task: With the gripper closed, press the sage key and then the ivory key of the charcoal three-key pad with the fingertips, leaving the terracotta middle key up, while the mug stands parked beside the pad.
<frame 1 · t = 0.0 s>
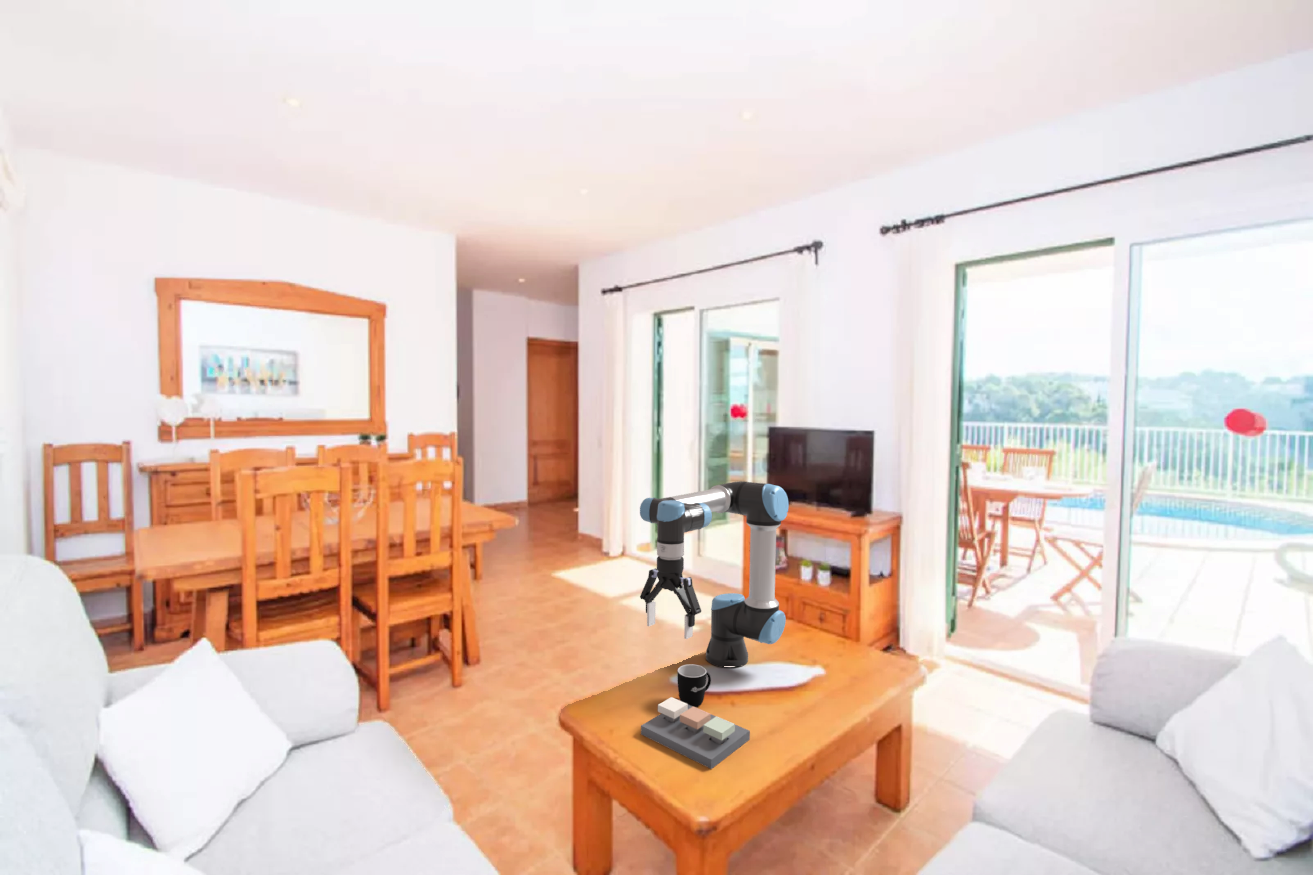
hand: (669, 631, 172), 28 cm above the table, fingers open, 13 cm apart
key ivory: (672, 712, 174), point 4 cm above the table, slide at 0.0 cm
key sage: (719, 732, 163), point 4 cm above the table, slide at 0.0 cm
keypad base: (694, 736, 169), on the table
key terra: (695, 722, 168), point 4 cm above the table, slide at 0.0 cm
mug: (695, 701, 189), on the table
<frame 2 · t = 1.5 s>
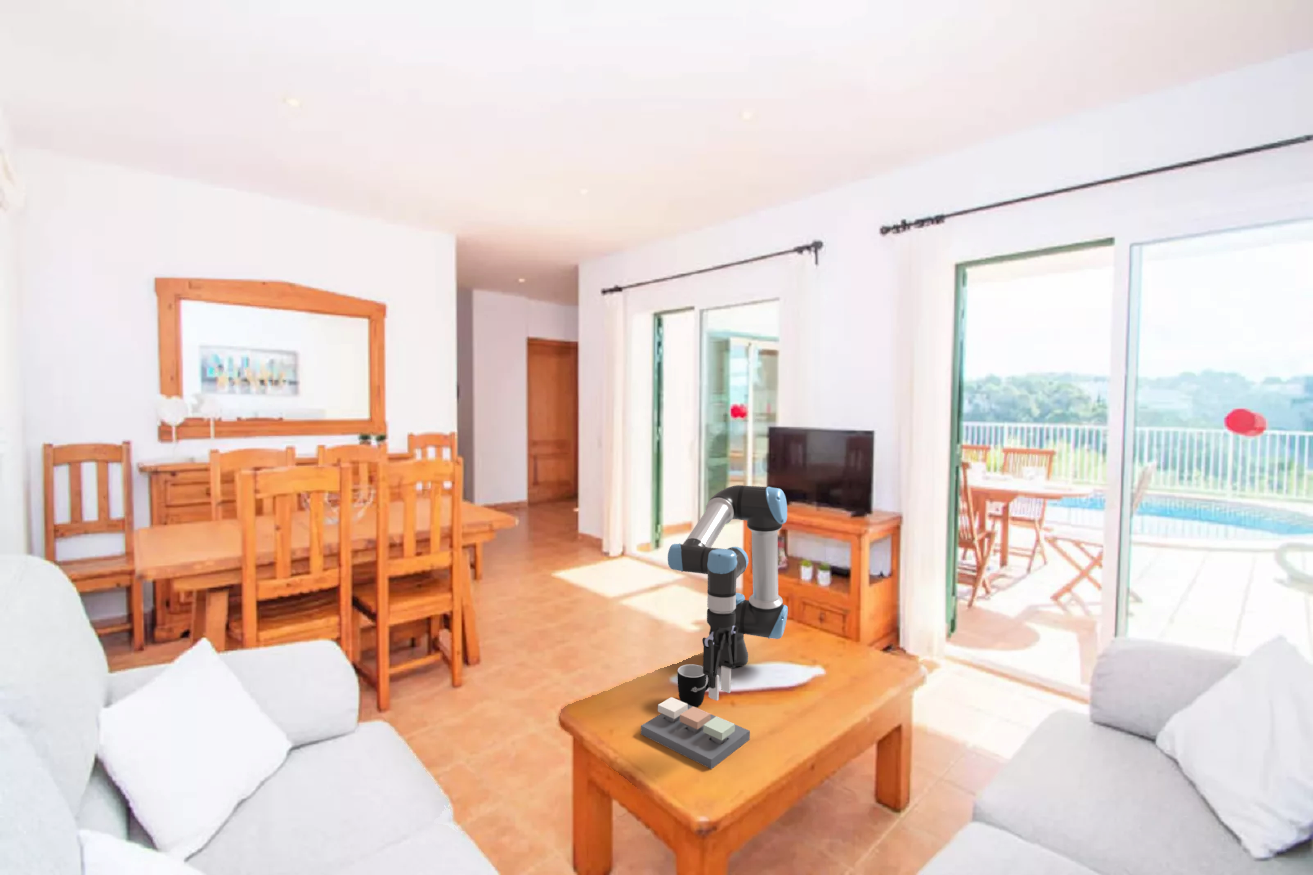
hand: (719, 694, 163), 15 cm above the table, fingers open, 5 cm apart
nothing on the table moved.
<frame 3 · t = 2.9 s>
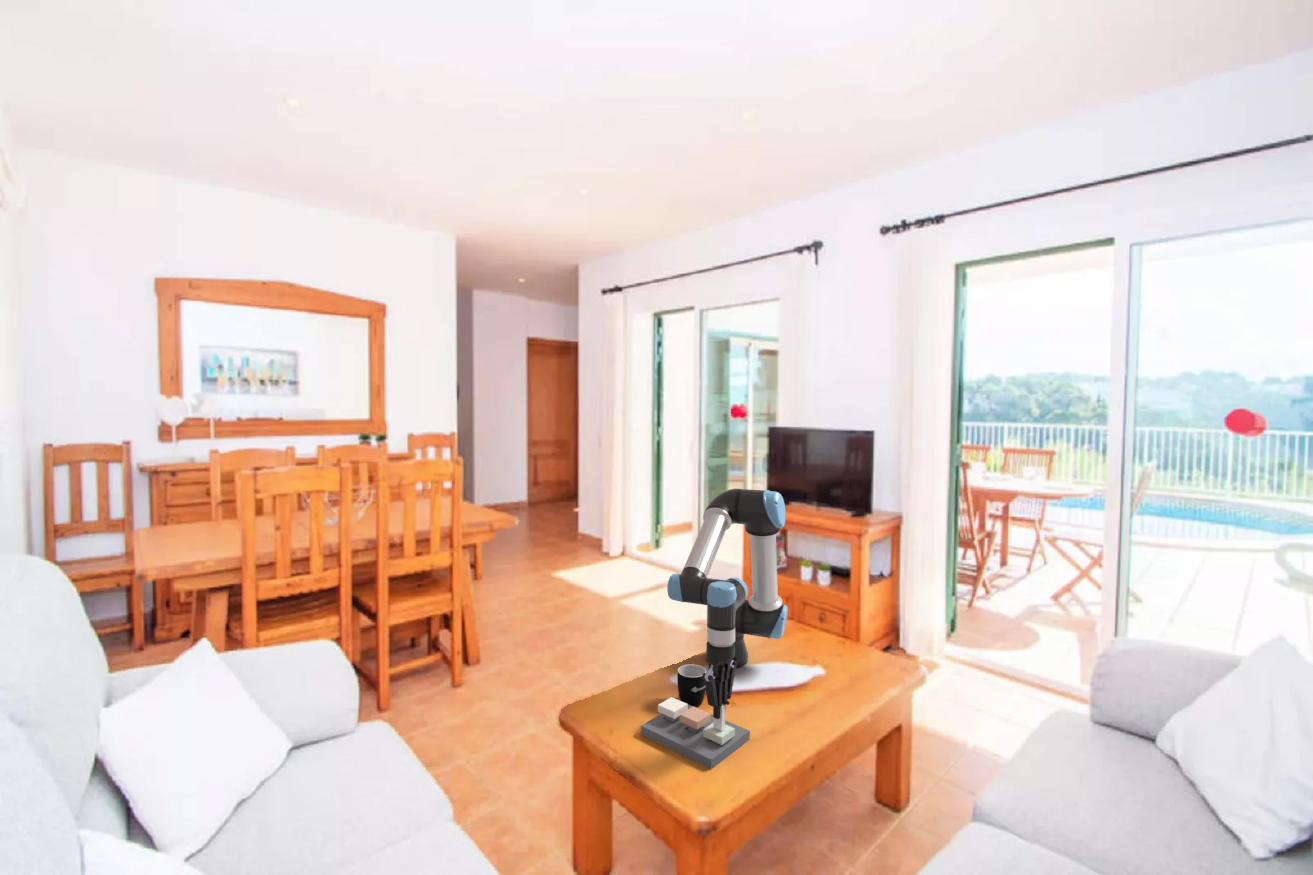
hand: (719, 728, 163), 6 cm above the table, fingers closed
key sage: (719, 737, 163), point 3 cm above the table, slide at 1.2 cm, touching gripper
everything else where it was.
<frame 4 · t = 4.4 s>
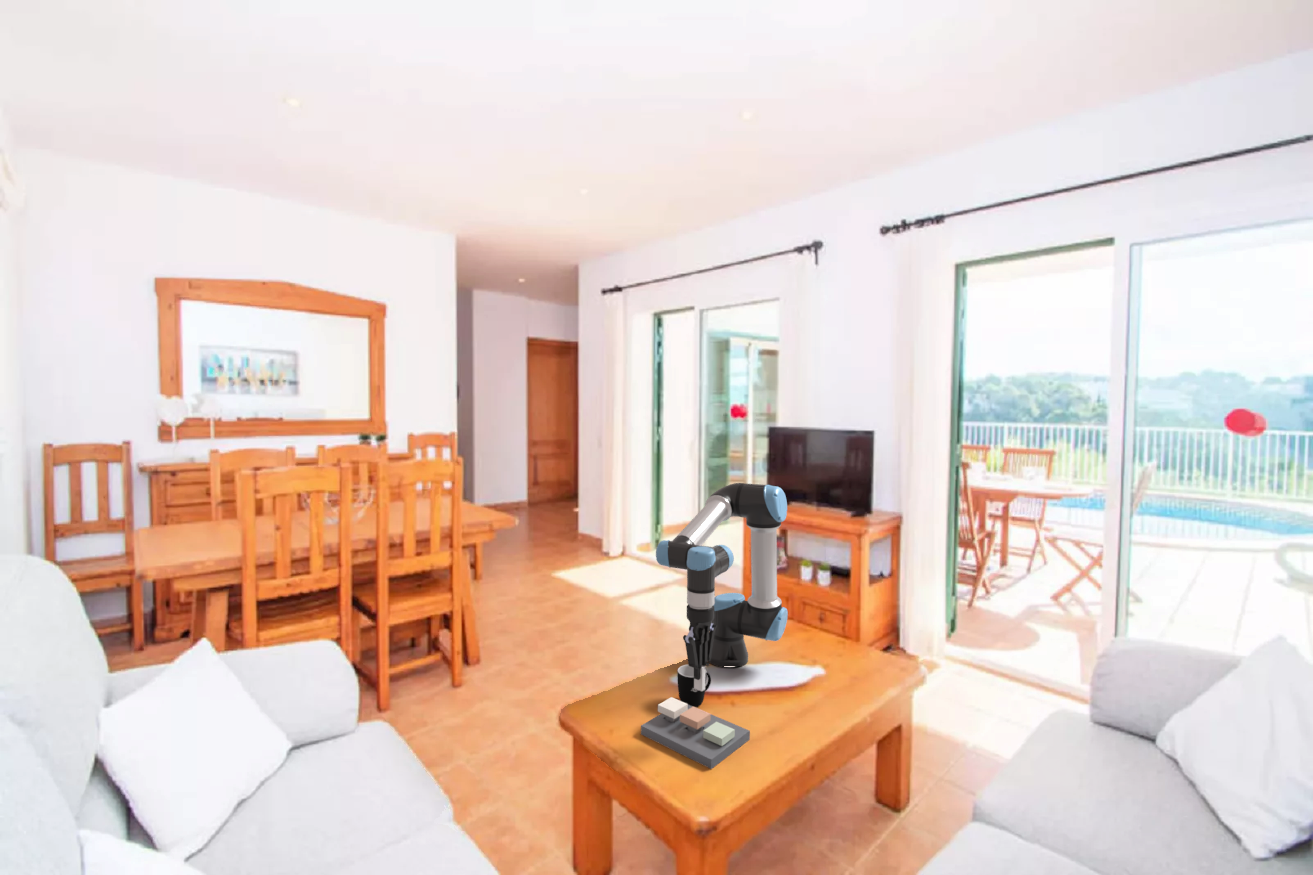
hand: (699, 688, 167), 14 cm above the table, fingers closed
key sage: (719, 738, 163), point 3 cm above the table, slide at 1.5 cm
everything else where it was.
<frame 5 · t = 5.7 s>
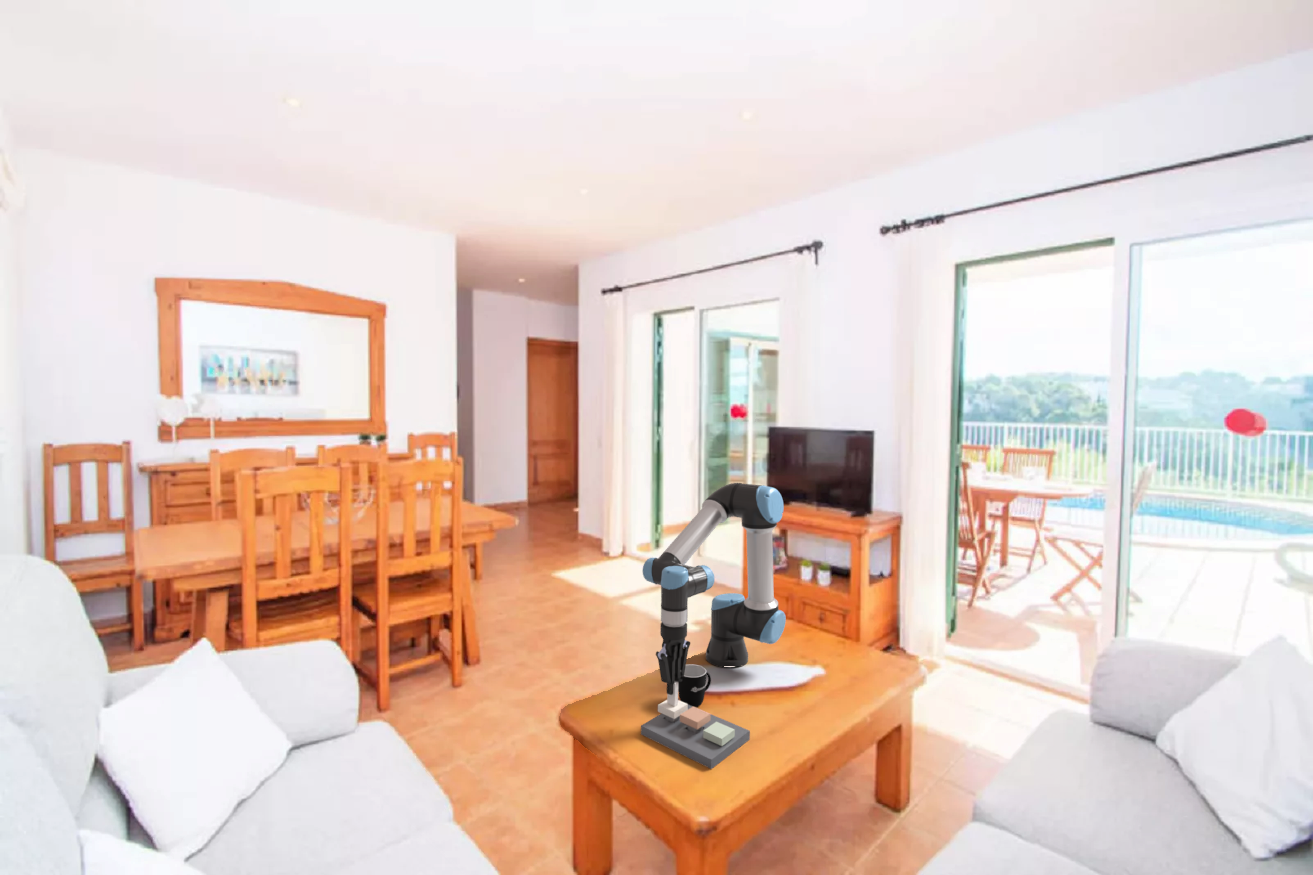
hand: (672, 703, 173), 7 cm above the table, fingers closed
key ivory: (672, 712, 174), point 4 cm above the table, slide at 0.0 cm, touching gripper
everything else where it was.
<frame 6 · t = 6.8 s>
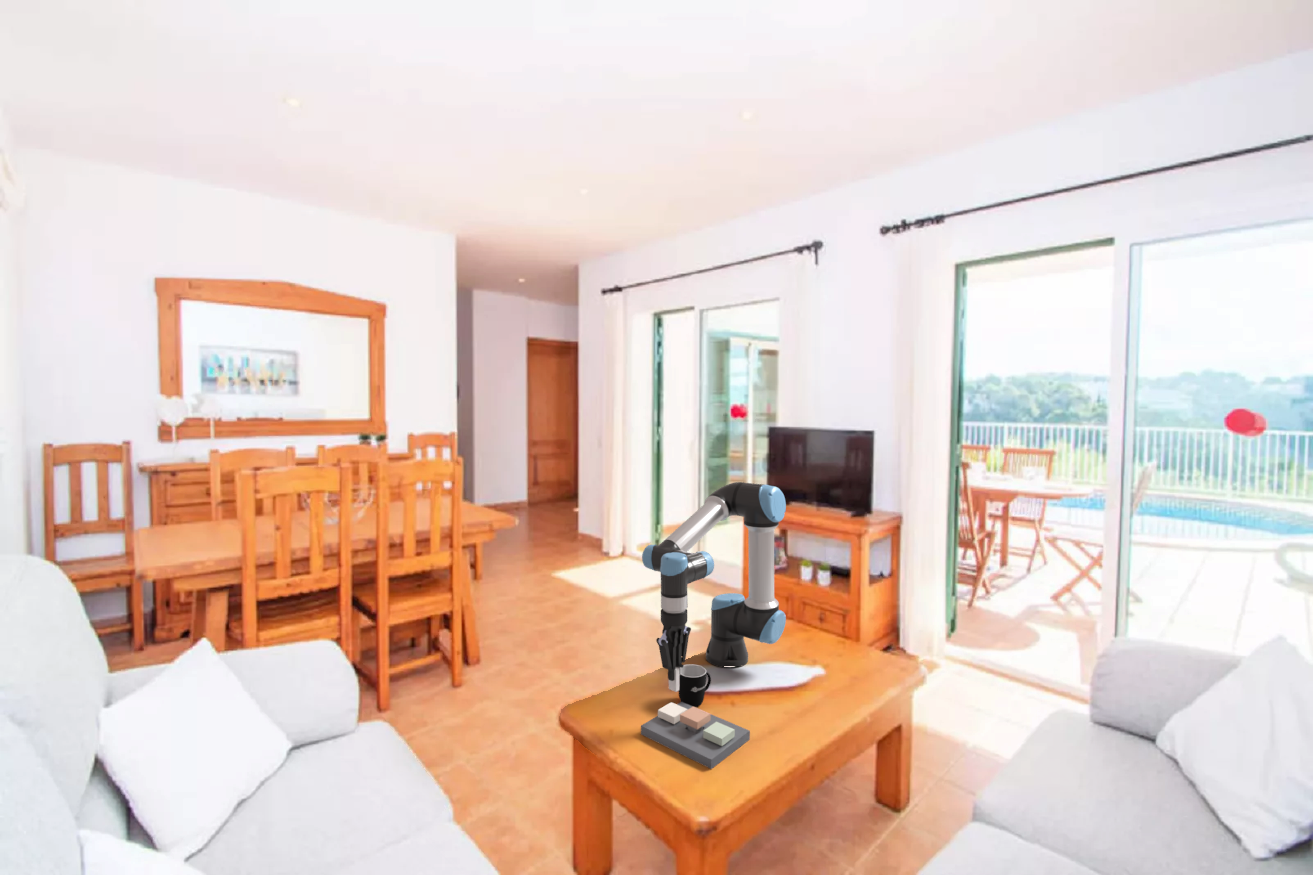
hand: (674, 689, 174), 11 cm above the table, fingers closed
key ivory: (672, 717, 174), point 3 cm above the table, slide at 1.5 cm
everything else where it was.
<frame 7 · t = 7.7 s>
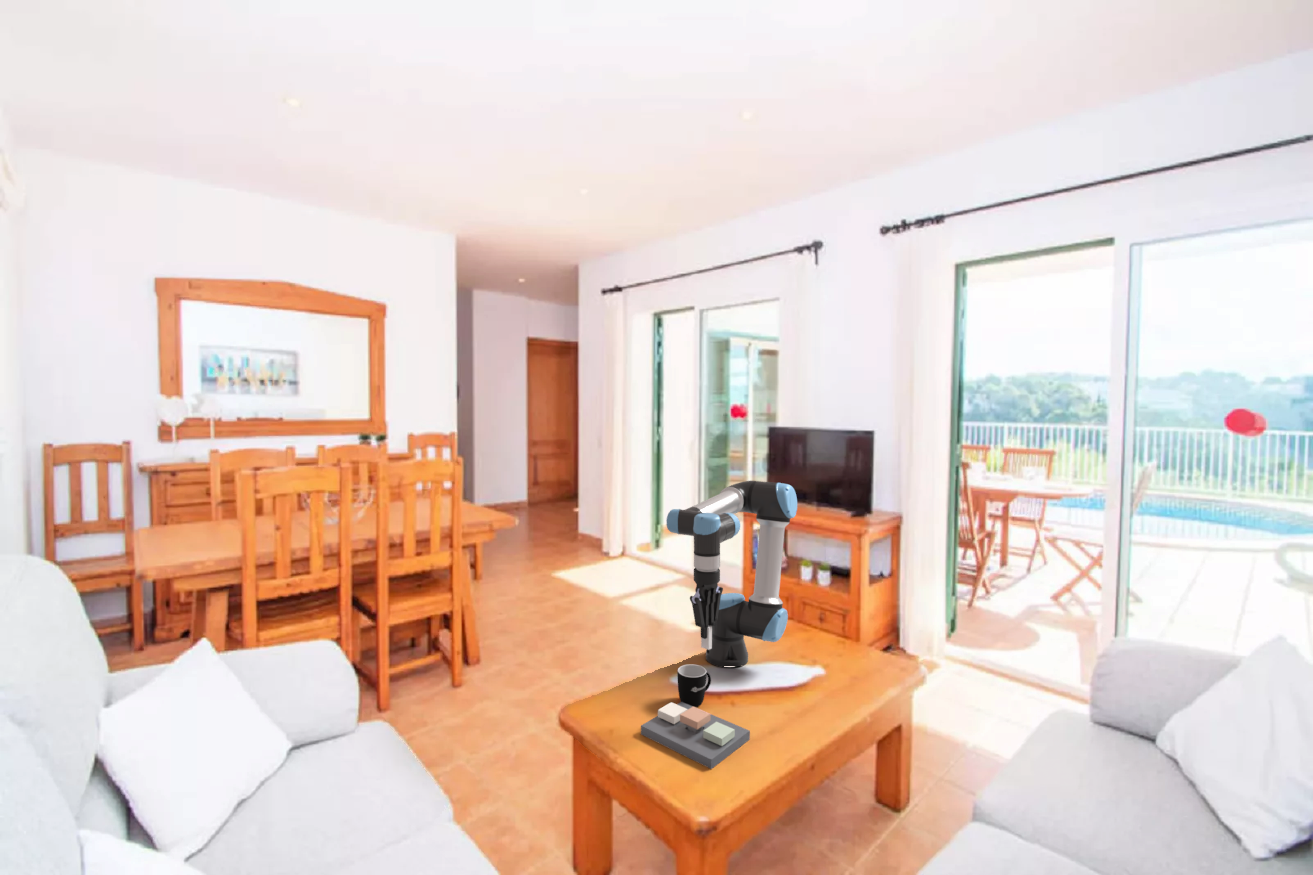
hand: (706, 647, 177), 21 cm above the table, fingers closed
nothing on the table moved.
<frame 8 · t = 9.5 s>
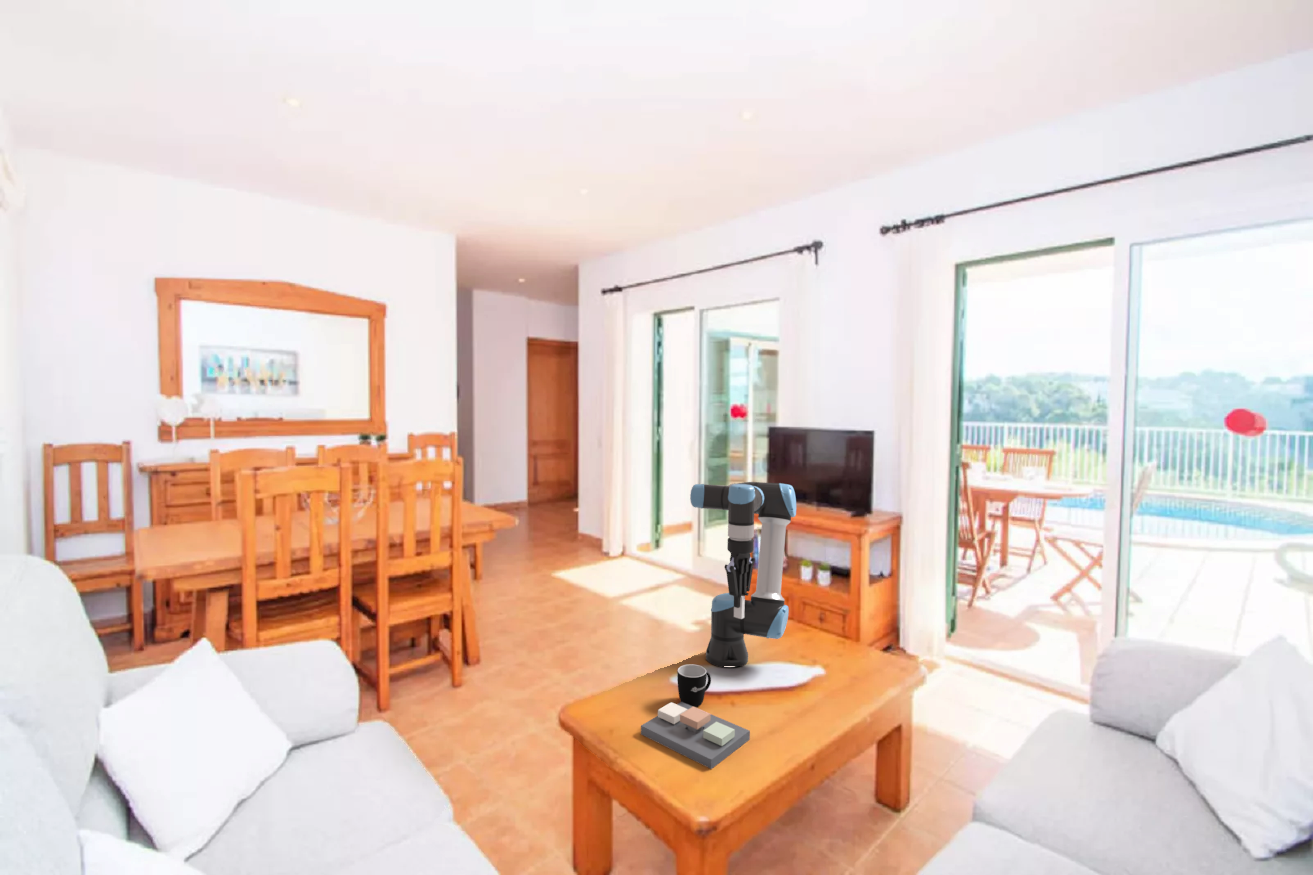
hand: (739, 617, 179), 29 cm above the table, fingers closed
nothing on the table moved.
at the end: key sage slide at 1.5 cm; key ivory slide at 1.5 cm; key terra slide at 0.0 cm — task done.
